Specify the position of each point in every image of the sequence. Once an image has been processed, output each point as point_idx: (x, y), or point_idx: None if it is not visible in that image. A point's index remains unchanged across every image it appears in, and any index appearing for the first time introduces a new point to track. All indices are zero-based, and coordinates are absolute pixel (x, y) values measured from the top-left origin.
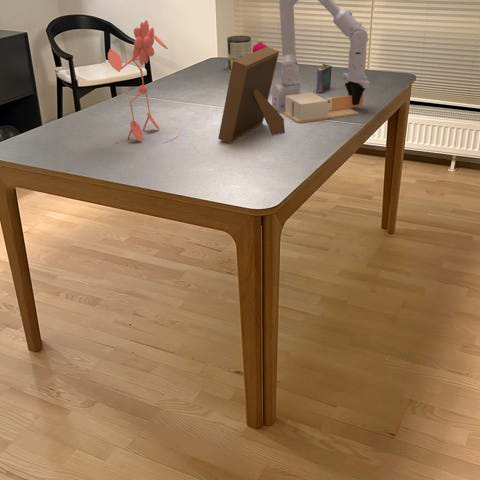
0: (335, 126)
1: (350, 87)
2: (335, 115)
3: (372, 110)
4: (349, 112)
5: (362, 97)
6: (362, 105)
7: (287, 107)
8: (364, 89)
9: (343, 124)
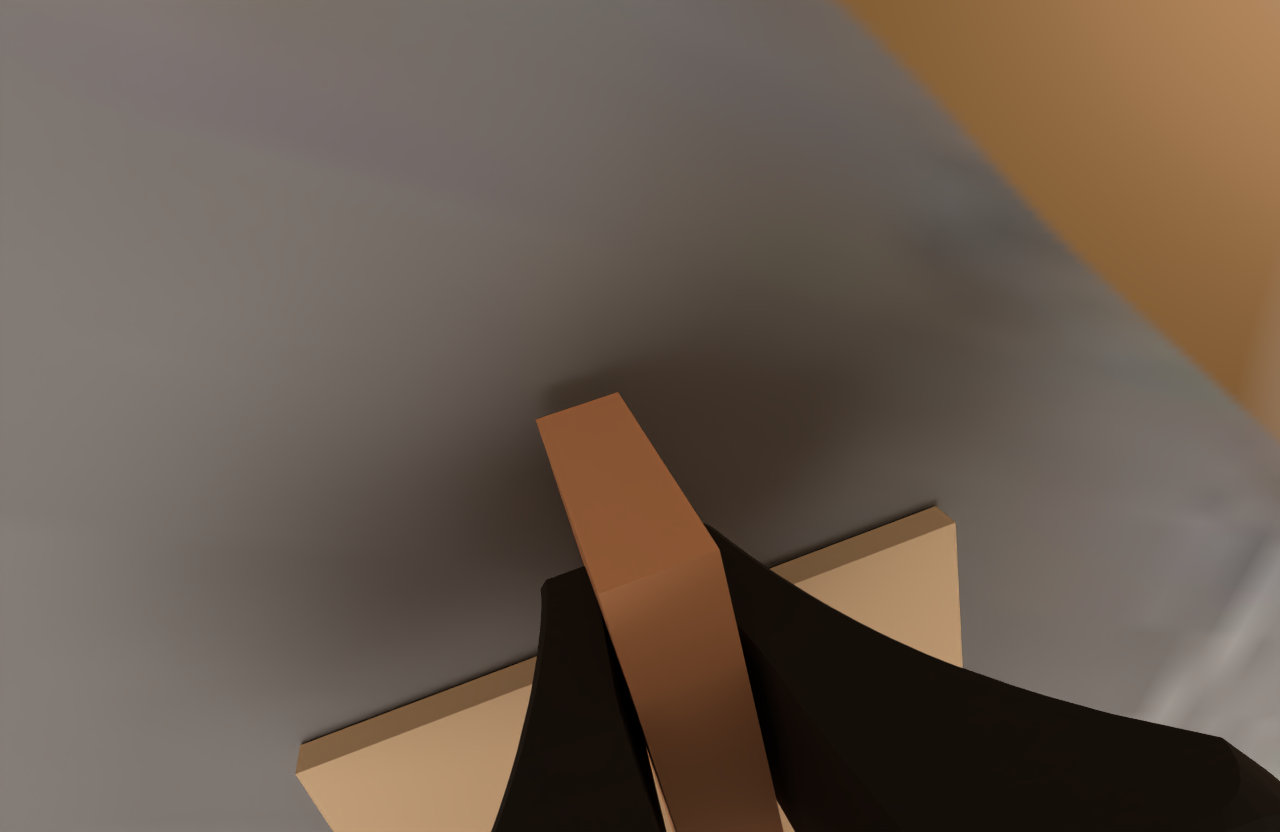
0: None
1: None
2: None
3: (798, 174)
4: None
5: (685, 512)
6: (619, 395)
7: None
8: (1101, 722)
9: (1209, 720)
